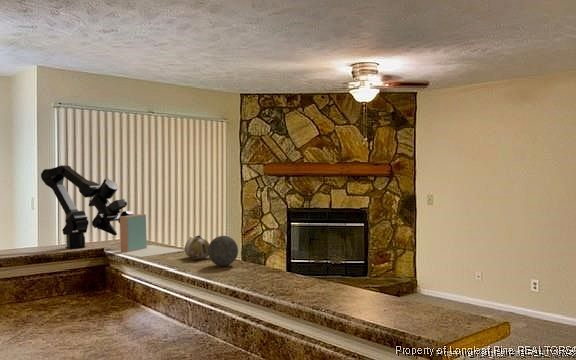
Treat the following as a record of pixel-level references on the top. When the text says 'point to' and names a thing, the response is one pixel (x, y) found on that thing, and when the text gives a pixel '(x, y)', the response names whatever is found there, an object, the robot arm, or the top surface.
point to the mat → (150, 251)
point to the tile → (133, 232)
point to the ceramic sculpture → (196, 247)
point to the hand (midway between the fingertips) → (124, 233)
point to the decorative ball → (223, 250)
